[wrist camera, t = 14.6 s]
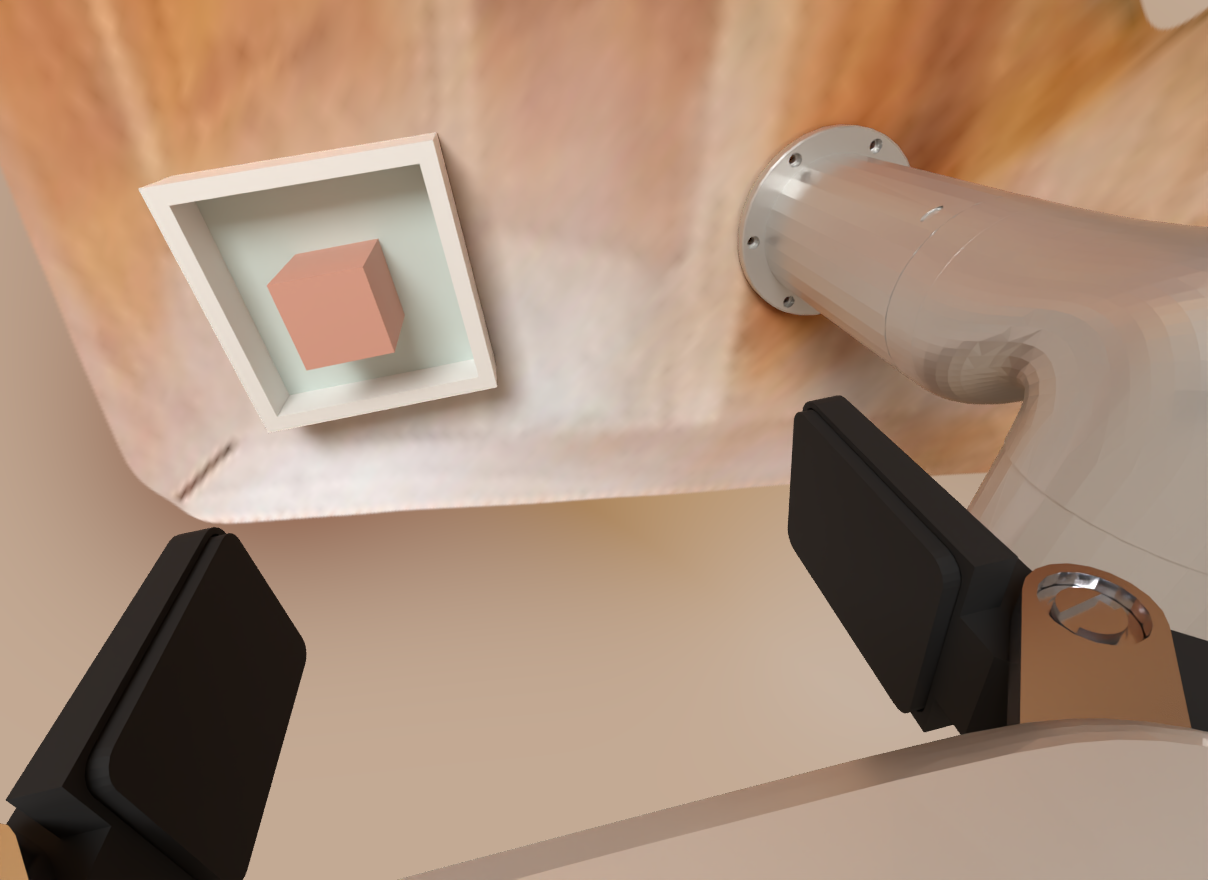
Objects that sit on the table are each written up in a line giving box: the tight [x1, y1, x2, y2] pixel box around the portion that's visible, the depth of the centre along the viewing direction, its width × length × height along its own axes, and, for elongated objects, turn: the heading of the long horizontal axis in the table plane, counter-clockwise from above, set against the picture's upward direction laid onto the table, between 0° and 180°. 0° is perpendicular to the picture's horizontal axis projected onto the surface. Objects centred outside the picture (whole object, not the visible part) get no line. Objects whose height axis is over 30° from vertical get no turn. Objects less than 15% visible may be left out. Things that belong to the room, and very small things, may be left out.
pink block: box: [267, 239, 405, 370], centre depth 35 cm, size 5×5×6 cm
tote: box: [139, 132, 497, 433], centre depth 37 cm, size 15×15×4 cm
